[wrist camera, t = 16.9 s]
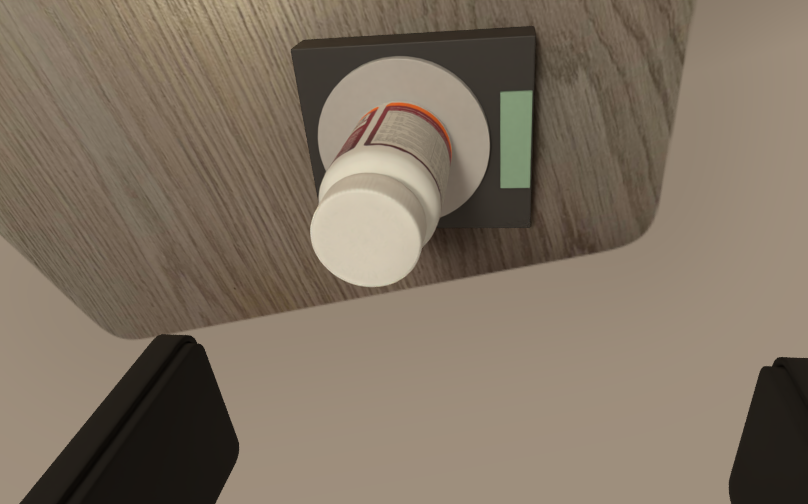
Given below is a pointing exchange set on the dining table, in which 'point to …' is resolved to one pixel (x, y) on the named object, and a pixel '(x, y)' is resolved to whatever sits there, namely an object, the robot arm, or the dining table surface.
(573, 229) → the dining table surface
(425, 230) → the pill bottle
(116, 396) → the robot arm
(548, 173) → the dining table surface
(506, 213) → the scale
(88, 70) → the dining table surface
